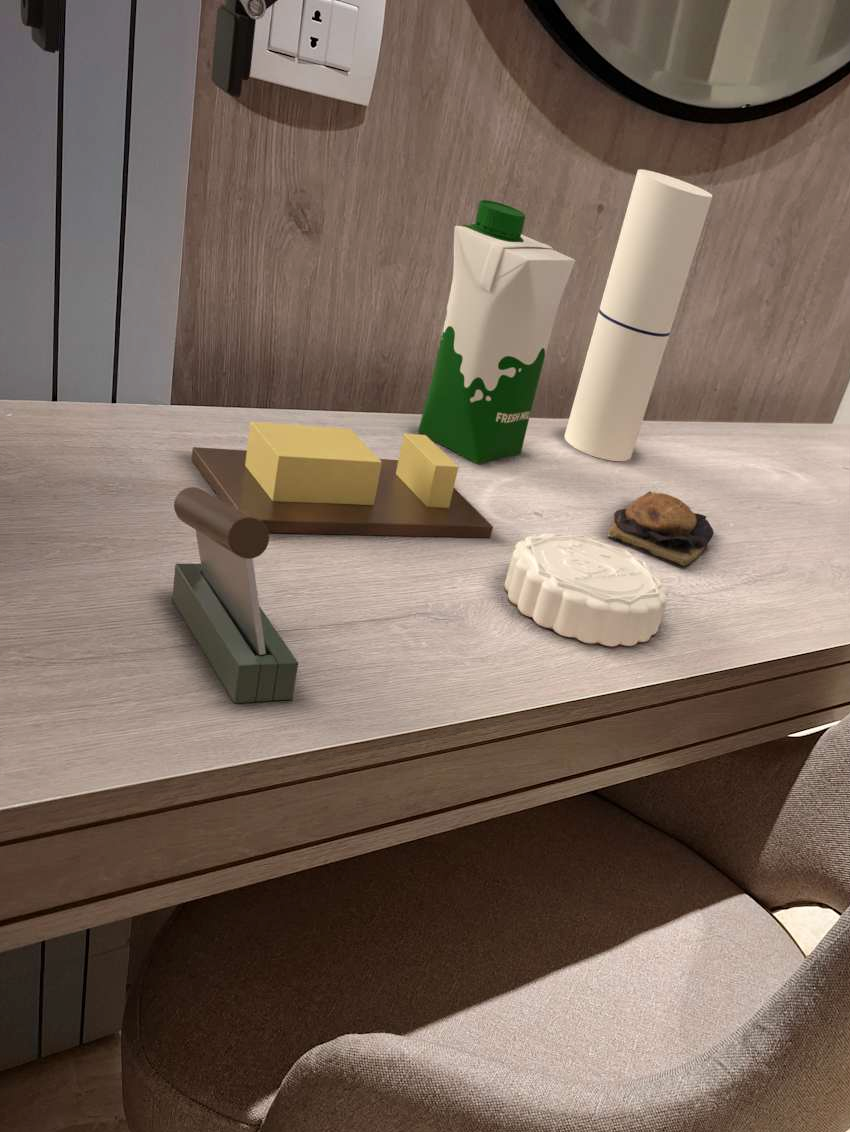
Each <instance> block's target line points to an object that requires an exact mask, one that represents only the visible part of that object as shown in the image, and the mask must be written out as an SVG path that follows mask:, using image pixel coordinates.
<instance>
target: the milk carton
mask: <svg viewBox="0 0 850 1132" xmlns="http://www.w3.org/2000/svg"><path fill="white" fill-rule="evenodd" d="M525 221H526V214H525V213H524V212H523V211H521V210H519V209H517V208H514V207H512V206H510V205H506V204H504V203H501V202H497V201H492V200H487V199H481V200H480V201H479V202H478V207H477V212H476V216H475V221H474V223H471V224H470V225H469V224H462V225H455V226H454V228H453V231H454V233H453V269H452V270H453V273H452V281H451V286H450V291H449V297H448V301H447V305H446V311H445V316H444V320H443V325H442V329H441V335H440V340H439V344H438V349H437V354H436V360H435V364H434V368H433V373H432V377H431V382H430V385H429V390H428V394H427V397H426V400H425V405H424V408H423V411H422V414H421V419H420V423H419V427H418V430H417V433H418V434H419V435H426V436H427V437H428V438H429V439H430V440H431V441H433V442H434V443H435V442H436V443H437V444H439V445H441V446H443V447H445V448H447V449H449V450H451V451H452V452H455V453H456V454H458V455H460V456H462V457H464V458H466V459H468V460H469V461H471V462H474V463H475V464H477V465H479V464H483V463H488V462H492V461H496V460H501V459H506V458H509V457H514V456H517V455H521V454H522V451H523V447H524V442H525V437H526V434H527V429H528V426H529V421H530V417H531V413H532V409H533V405H534V401H535V396H536V393H537V389H538V384H539V381H540V377H541V373H542V370H543V365H544V362H545V358H546V354H547V351H548V346H549V343H550V338H551V334H552V331H553V328H554V323H555V318H556V315H557V312H558V309H559V306H560V303H561V300H562V298H563V294H564V292H565V289H566V287H567V284H568V281H569V278H570V276H571V274H572V270H573V268H574V266H575V263H576V259H574V258H572V257H570V256H568V255H565V254H563V253H561V252H559V251H557V250H555V249H554V247H552V246H551V245H549V244H546V243H545V242H544V243H543V242H540V241H538V240H535V239H533V238H530V237H528V236H526V235H524V234H523V229H524V226H525Z"/></svg>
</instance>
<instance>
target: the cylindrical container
mask: <svg viewBox="0 0 850 1132" xmlns="http://www.w3.org/2000/svg"><path fill="white" fill-rule="evenodd" d="M712 199H713V194H711V192H708V191H707V190H705V189H703V188H701V187H699V186H696V185H694V184H692V183H689V182H687V181H684V180H682V179H678V178H675V177H673V176H670V175H666V174H663V173H659V172H655V171H653V170H648V169H637V172H636V175H635V180H634V183H633V185H632V189H631V193H630V197H629V200H628V203H627V208H626V212H625V216H624V219H623V222H622V225H621V230H620V233H619V237H618V241H617V244H616V248H615V251H614V255H613V259H612V262H611V266H610V270H609V274H608V277H607V281H606V284H605V287H604V291H603V295H602V298H601V302H600V306H599V310H598V312H597V316H596V320H595V324H594V328H593V332H592V334H591V339H590V342H589V345H588V349H587V352H586V357H585V360H584V362H583V363H584V364H583V367H582V371H581V375H580V378H579V382H578V385H577V389H576V393H575V396H574V400H573V403H572V407H571V409H570V410H571V411H570V414H569V417H568V422H567V425H566V429H565V433H564V437H563V438H564V440H565V441H566V442H567V444H569V445H570V446H571V447H572V448H575V449H576V450H577V451H580V452H582V453H584V454H586V455H588V456H591V457H595V458H598V459H602V460H606V461H612V462H626V461H629V460H631V459H632V456H633V453H634V450H635V447H636V443H637V440H638V437H639V434H640V431H641V427H642V424H643V421H644V417H645V414H646V411H647V409H648V405H649V402H650V398H651V396H652V392H653V389H654V386H655V382H656V380H657V376H658V373H659V369H660V365H661V363H662V359H663V356H664V354H665V350H666V347H667V343H668V341H669V338H670V334H671V330H672V328H673V324H674V321H675V318H676V315H677V312H678V309H679V305H680V302H681V298H682V296H683V292H684V289H685V287H686V283H687V280H688V276H689V273H690V270H691V266H692V264H693V260H694V257H695V254H696V250H697V249H698V244H699V241H700V237H701V235H702V231H703V228H704V225H705V222H706V219H707V215H708V212H709V209H710V205H711V204H712V203H711V202H712Z"/></svg>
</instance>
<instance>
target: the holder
mask: <svg viewBox="0 0 850 1132" xmlns="http://www.w3.org/2000/svg"><path fill="white" fill-rule="evenodd" d="M174 566H175V567H174V576H173V586H172V597H171V599H172V602H173V603H174V605H175V607H176V609H177V610H178V612H179V613H180V615H181V617H182V618H183V620H184V622H185V623H186V625H187V627H188V628H189V630H190V632H191V634H192V635H193V637H194V639H195V640H196V642H197V643H198V645H199V646H200V649H201V650H202V651H203V653H204V655H205V656H206V658H207V660H208V662H209V664H210V665H211V666H212V668H213V670H214V671H215V674H216V675H217V676H218V678H219V680H220V681H221V683H222V685H223V686H224V688H225V690H226V692H227V693H228V695H229V697H230V698H231V699H232V701H233V703H234V704H245V703H255V702H257V703H258V702H272V701H273V702H274V701H291V700H293V699H294V693H295V687H296V680H297V675H298V668H299V661H298V660H297V659H296V657H295V656H294V654H293V653H292V651H291V650H290V648H289V647H288V646H287V644H286V642H285V641H284V640H283V638H282V637H281V635H280V634H279V632H278V631H277V630H276V627H274V625H273V624H272V623H271V621H270V619H269V618H268V616H267V614H266V613H265V612H264V610H263V609H262V607H261V606H260V605H259V608H260V615H261V622H262V629H263V637H264V644H265V651H266V654H264V655H258V654H257V653H256V652H254V651H253V650H252V649H251V648H249V646H248V645H247V643H246V642H245V640H244V639H243V637H242V635H241V634H240V632H239V631H238V629H237V628H236V626H235V625H234V623H233V622H232V620H231V619H230V617H229V615H228V614H227V612H226V611H225V609H224V608H223V606H222V605H221V603H220V602H219V600H218V598H217V597H216V595H215V594H214V592H213V591H212V589H211V588H210V586H209V585H208V583H207V582H206V580H205V578H204V577H203V573H202V567H201V563H182V562H181V563H180V562H179V563H175V565H174Z"/></svg>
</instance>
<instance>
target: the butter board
mask: <svg viewBox="0 0 850 1132" xmlns="http://www.w3.org/2000/svg"><path fill="white" fill-rule="evenodd" d="M246 454H247V449H246V450H245V449H231V448H230V449H229V448H228V449H227V448H213V447H200V446H199V447H197V446H193V447H192V451H191V460H192V462H193V463H194V464H195V466H196V467H197V468H198V470H199V472H200V473H201V474H202V476H203V477H204V478H205V480H206V481H207V483H208V484H209V485H210V486H211V488H212V489H213V490H214V492H215V494H216V495H217V496H218V498H219V499H220V500H222V501H224V502H226V503H228V504H230V505H232V506H234V507H236V508H237V509H239V510H241V511H243V512H245V513H247V514H249V515H251V516H253V517H255V518H257V519H259V520H260V521H261V522H263V524H264V525H265V526H266V528H267V530H268V533H269V534H308V535H309V534H310V535H311V534H312V535H355V536H357V535H358V536H359V535H360V536H396V537H397V536H403V537H444V538H445V537H449V538H491V536H492V532H493V529H494V526H493V525H492V524H491V523H490V522H489V521H488V520H487V519H486V518H485V517H484V516H483V515H482V514H481V513H480V512H479V511H478V510H477V509H476V508H475V507H474V506H473V505H472V503H470V502H469V501H468V500H467V499H466V498H465V497H464V495H462V494H461V492H459V491H458V490H457V488H455V487H454V489H453V493H452V497H451V502H450V506H449V508H437V507H427V506H426V505H425V504H424V503H423V502H422V501H421V500H420V499H419V498H418V497H417V496H416V495H415V494H414V493H413V492H412V491H411V490H410V489H409V488H408V486H407V485H406V484H405V483H404V482H403V481H402V480H401V479H400V478H399V477H398V476H397V475H396V470H397V465H398V460H399V459H390V458H389V459H387V458H378V459H379V460H380V461H381V462H382V465H381V470H380V475H379V481H378V486H377V491H376V496H375V502H374V505H357V504H331V503H304V502H278V501H272V500H271V498H270V497H269V496H268V494H267V493H266V492H265V491H264V489H263V488H262V487H261V485H260V484H259V483H258V482H257V480H256V479H255V478H254V477H253V475H252V474H251V473H250V471H249V470H248V469H247V468H246V466H245V462H246Z"/></svg>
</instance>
